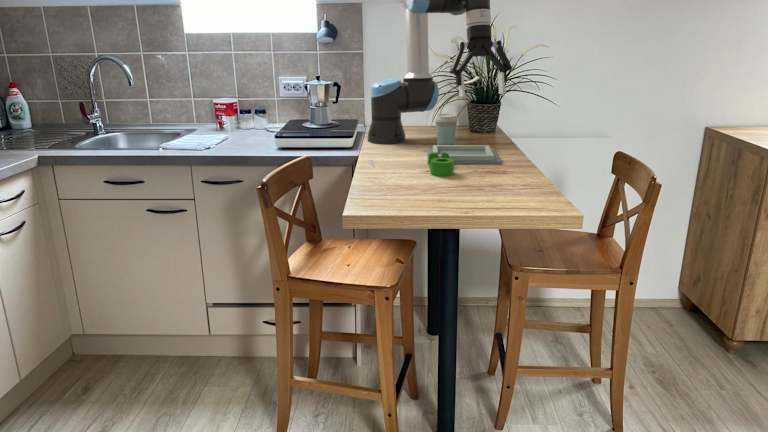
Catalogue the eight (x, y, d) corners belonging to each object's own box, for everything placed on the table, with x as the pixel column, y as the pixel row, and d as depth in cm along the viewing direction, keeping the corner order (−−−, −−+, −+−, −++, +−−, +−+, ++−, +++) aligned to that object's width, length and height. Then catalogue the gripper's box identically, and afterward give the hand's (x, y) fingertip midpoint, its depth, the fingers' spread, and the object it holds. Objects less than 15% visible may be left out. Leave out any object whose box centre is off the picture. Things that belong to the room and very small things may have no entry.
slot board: (427, 163, 194) (427, 156, 193) (427, 151, 213) (427, 144, 212) (500, 164, 193) (500, 156, 192) (493, 151, 211) (493, 144, 211)
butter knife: (375, 159, 201) (367, 158, 201) (387, 180, 176) (377, 179, 175) (375, 160, 201) (367, 160, 201) (387, 181, 176) (377, 181, 176)
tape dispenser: (454, 177, 178) (455, 162, 177) (431, 178, 178) (431, 163, 177) (449, 165, 192) (449, 152, 191) (427, 166, 192) (427, 152, 191)
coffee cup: (456, 145, 223) (457, 113, 219) (457, 149, 215) (458, 117, 211) (434, 144, 224) (434, 113, 220) (434, 149, 216) (434, 117, 212)
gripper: (445, 24, 175) (449, 96, 178) (520, 22, 181) (523, 91, 184) (436, 29, 182) (441, 98, 185) (509, 26, 188) (512, 93, 191)
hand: (482, 95), depth 185 cm, fingers open, 13 cm apart
